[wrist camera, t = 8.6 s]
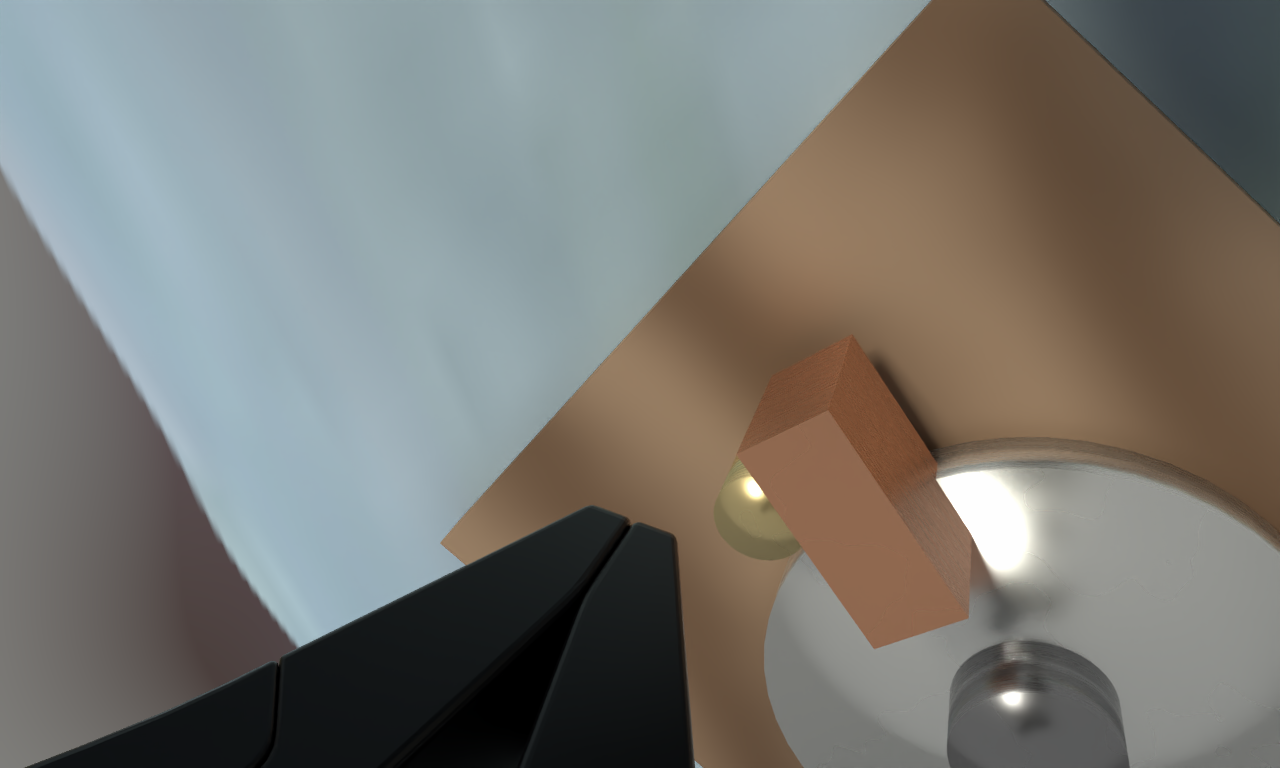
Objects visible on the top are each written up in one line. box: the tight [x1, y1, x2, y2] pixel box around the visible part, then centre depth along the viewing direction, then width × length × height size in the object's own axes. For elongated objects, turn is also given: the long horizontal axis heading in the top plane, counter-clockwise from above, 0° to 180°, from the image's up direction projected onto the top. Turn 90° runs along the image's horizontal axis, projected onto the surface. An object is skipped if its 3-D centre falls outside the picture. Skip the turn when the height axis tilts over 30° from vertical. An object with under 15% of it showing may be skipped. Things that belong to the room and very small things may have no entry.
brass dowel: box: [714, 455, 802, 561], centre depth 19 cm, size 2×2×3 cm
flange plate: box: [736, 334, 1280, 768], centre depth 19 cm, size 14×11×4 cm
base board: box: [440, 0, 1280, 768], centre depth 21 cm, size 18×22×1 cm
